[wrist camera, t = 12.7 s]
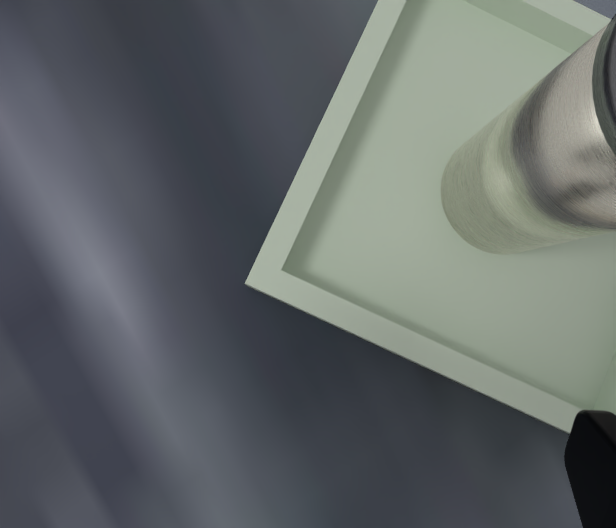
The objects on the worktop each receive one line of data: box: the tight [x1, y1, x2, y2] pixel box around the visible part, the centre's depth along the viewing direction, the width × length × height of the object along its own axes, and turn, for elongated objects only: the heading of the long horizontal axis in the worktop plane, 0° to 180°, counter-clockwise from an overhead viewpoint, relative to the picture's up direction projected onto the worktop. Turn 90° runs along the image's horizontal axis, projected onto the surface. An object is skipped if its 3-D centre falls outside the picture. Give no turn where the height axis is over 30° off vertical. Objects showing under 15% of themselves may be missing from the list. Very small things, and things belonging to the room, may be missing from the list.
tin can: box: [441, 14, 616, 255], centre depth 16 cm, size 5×5×11 cm
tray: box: [245, 0, 616, 434], centre depth 21 cm, size 16×16×2 cm
